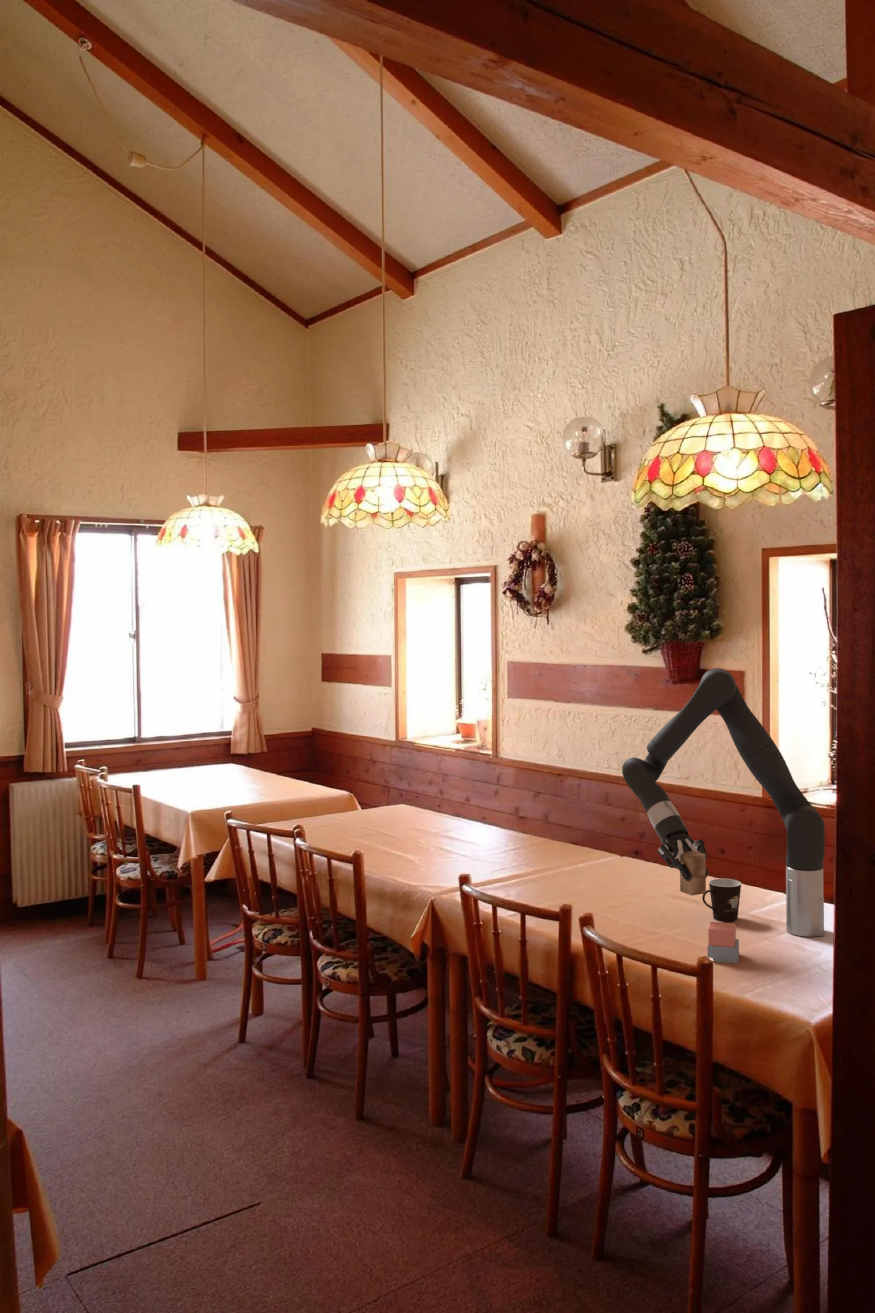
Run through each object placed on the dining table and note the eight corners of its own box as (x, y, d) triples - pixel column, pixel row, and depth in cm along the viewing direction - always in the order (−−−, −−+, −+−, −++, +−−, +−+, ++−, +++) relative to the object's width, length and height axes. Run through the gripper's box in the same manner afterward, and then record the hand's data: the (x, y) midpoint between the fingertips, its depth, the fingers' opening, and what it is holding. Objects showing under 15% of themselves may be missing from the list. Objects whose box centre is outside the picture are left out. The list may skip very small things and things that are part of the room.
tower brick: (735, 939, 250) (735, 923, 250) (734, 947, 244) (734, 931, 244) (710, 937, 252) (710, 921, 252) (708, 945, 246) (708, 929, 246)
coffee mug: (735, 913, 284) (735, 878, 284) (746, 922, 275) (745, 886, 275) (694, 914, 284) (694, 879, 283) (703, 924, 275) (703, 887, 275)
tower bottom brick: (739, 955, 250) (738, 939, 250) (737, 964, 244) (737, 948, 244) (709, 952, 253) (709, 937, 253) (707, 962, 246) (707, 945, 246)
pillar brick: (694, 889, 261) (693, 850, 260) (705, 893, 257) (705, 854, 256) (680, 891, 259) (679, 852, 259) (691, 895, 255) (691, 856, 254)
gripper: (651, 817, 261) (682, 874, 250) (695, 811, 267) (727, 866, 256) (638, 833, 266) (668, 890, 255) (682, 827, 272) (713, 882, 261)
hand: (697, 878), depth 256 cm, fingers closed on pillar brick, 4 cm apart
